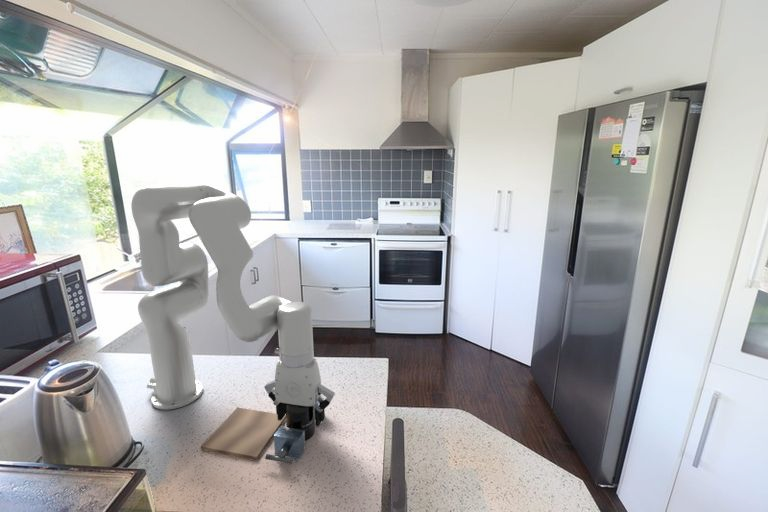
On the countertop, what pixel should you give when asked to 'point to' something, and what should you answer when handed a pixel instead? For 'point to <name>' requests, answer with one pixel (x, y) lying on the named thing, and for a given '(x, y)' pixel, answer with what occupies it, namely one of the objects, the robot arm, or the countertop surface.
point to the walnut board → (244, 434)
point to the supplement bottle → (301, 419)
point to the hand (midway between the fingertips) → (300, 419)
